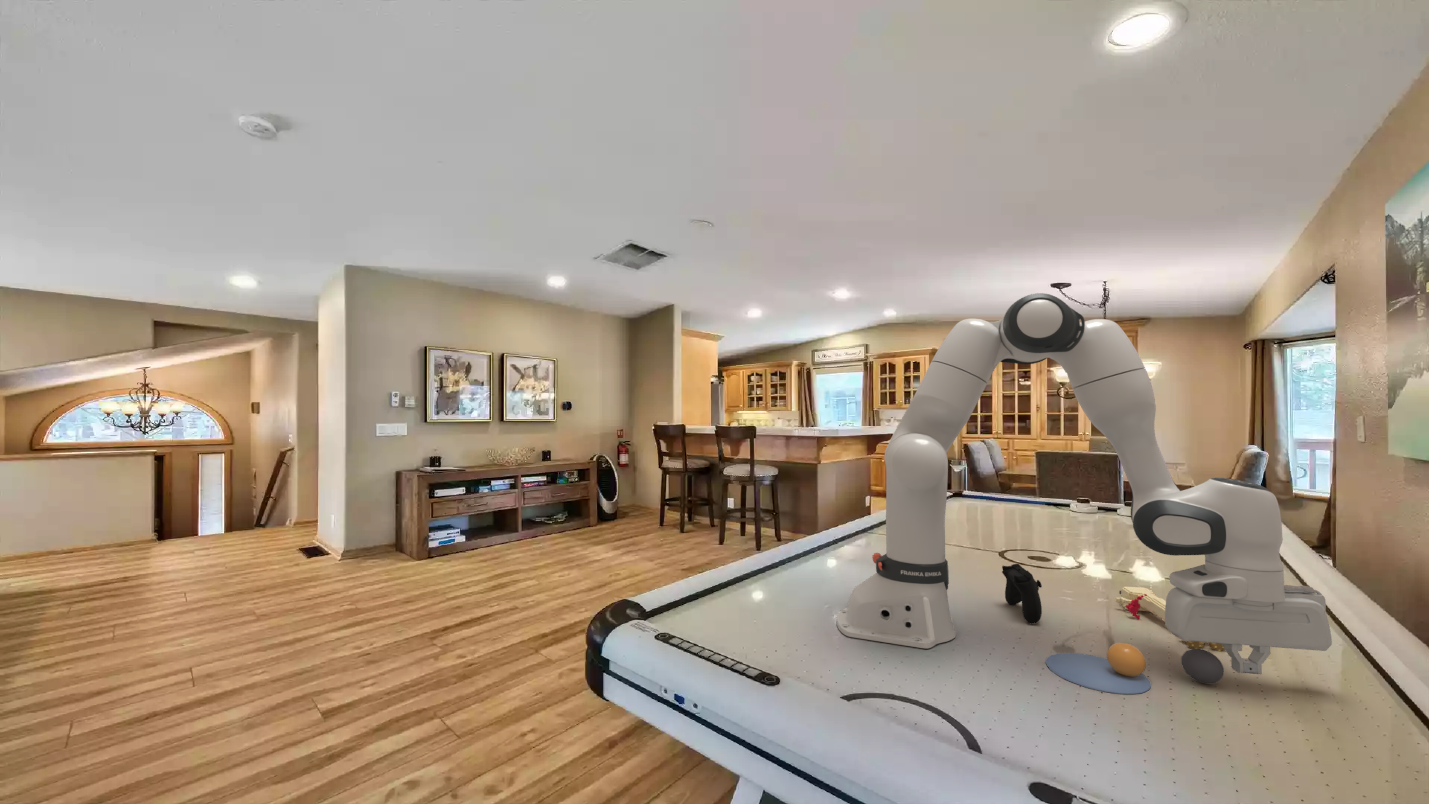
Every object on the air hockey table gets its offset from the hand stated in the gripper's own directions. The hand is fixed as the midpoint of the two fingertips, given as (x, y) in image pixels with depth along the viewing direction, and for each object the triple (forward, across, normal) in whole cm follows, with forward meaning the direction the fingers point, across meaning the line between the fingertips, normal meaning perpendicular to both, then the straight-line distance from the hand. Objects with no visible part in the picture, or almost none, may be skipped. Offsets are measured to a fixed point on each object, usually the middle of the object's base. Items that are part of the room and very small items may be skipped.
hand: (1246, 672), depth 83 cm
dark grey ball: (0, +6, 0) cm, 6 cm away
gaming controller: (+2, +23, -27) cm, 36 cm away
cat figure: (+3, -3, -26) cm, 27 cm away
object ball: (0, +17, 0) cm, 17 cm away
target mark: (+2, +21, 0) cm, 21 cm away
